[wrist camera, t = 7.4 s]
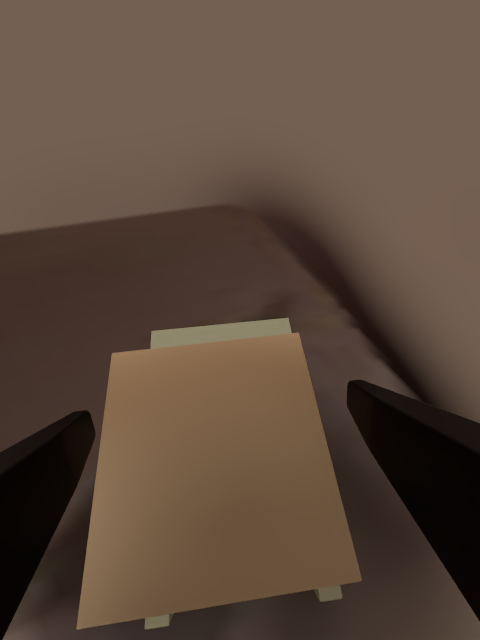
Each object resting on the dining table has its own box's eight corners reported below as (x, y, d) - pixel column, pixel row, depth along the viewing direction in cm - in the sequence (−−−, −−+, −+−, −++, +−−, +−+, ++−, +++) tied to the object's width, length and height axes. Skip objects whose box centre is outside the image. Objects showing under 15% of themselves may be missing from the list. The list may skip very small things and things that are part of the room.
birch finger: (271, 490, 14) (362, 580, 4) (199, 500, 14) (76, 630, 3) (259, 411, 16) (295, 322, 6) (196, 419, 16) (113, 342, 5)
